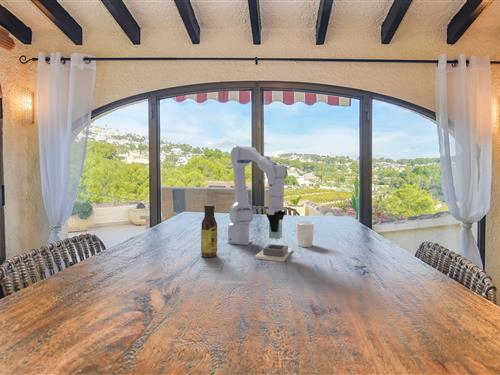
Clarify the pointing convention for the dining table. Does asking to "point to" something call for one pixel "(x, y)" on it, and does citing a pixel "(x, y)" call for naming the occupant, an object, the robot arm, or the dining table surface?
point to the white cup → (304, 233)
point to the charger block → (276, 234)
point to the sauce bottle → (209, 233)
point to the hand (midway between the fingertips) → (275, 230)
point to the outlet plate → (274, 252)
